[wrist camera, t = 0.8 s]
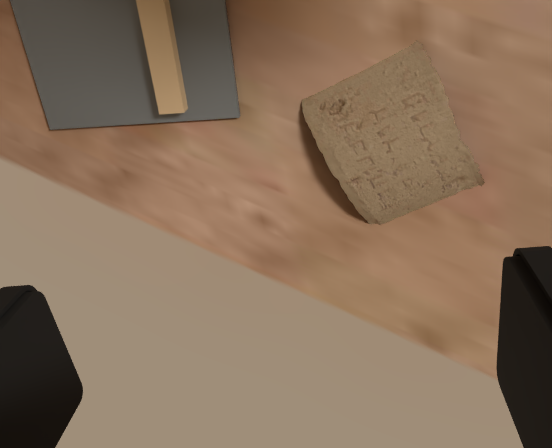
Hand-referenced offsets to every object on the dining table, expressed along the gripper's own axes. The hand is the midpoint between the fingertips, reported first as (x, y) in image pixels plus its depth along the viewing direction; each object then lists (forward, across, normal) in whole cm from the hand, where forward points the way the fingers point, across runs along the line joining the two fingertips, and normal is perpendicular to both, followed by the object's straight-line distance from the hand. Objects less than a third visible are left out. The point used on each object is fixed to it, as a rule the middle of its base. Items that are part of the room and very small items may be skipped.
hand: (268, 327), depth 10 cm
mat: (+32, +14, -6) cm, 35 cm away
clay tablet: (+32, -6, +8) cm, 34 cm away
